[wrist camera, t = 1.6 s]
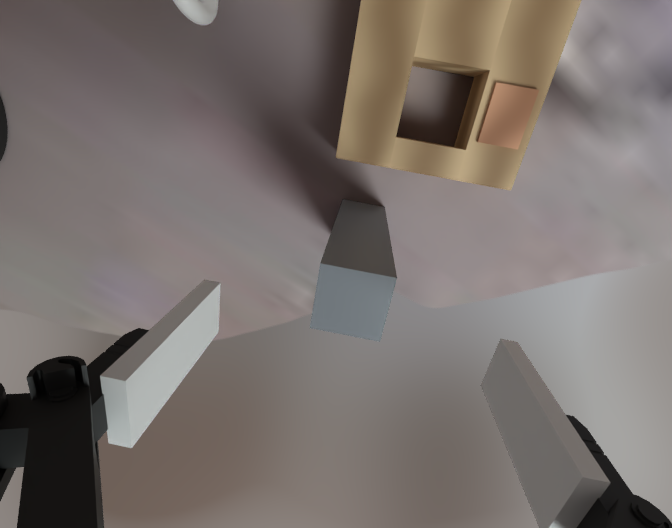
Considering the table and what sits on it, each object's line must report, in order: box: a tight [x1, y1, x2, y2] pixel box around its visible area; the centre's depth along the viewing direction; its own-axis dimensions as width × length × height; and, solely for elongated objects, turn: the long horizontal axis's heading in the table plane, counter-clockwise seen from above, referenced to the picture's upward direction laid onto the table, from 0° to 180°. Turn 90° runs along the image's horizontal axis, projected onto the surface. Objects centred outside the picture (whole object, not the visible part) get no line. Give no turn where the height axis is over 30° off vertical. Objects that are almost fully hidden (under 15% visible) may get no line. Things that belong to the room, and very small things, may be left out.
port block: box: [336, 0, 581, 190], centre depth 24 cm, size 14×22×4 cm, turn 170°
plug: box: [310, 199, 397, 341], centre depth 26 cm, size 4×4×16 cm
